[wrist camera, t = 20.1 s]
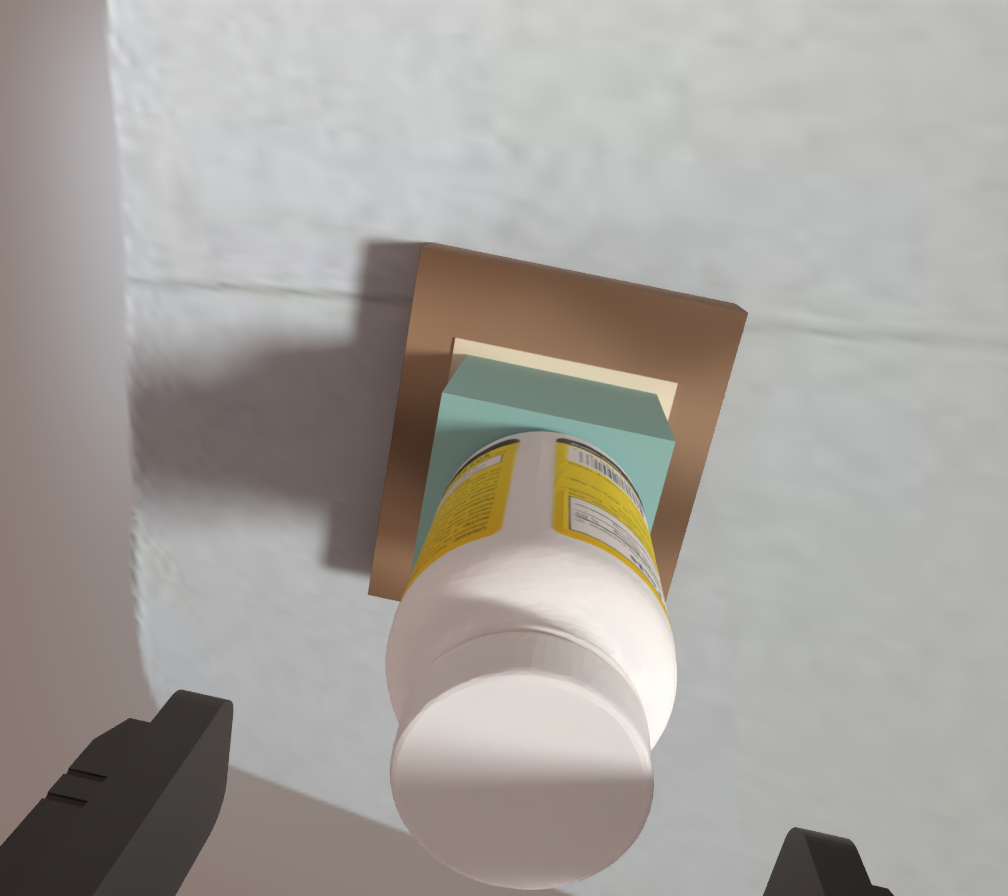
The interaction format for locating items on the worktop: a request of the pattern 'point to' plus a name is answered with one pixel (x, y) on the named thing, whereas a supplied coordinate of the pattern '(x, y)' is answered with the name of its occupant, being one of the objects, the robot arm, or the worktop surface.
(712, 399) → the base board
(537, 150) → the worktop surface
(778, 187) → the worktop surface
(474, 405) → the teal block
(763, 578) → the worktop surface
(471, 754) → the supplement bottle
